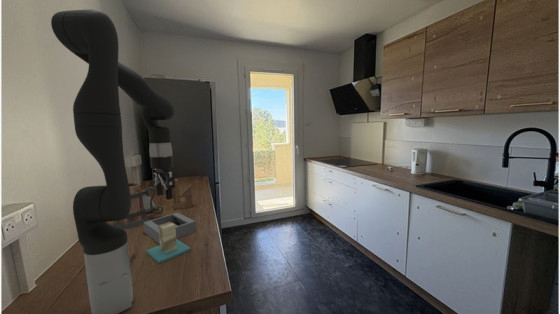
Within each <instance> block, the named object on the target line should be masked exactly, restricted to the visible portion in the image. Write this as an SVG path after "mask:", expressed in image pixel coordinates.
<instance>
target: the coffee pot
mask: <svg viewBox="0 0 560 314" xmlns="http://www.w3.org/2000/svg"><path fill="white" fill-rule="evenodd" d="M148 187H149V181H146V183H145V188H143V189H141V191H142V192H144V191H145V190H146V189H147V188H148ZM148 191H149V192H150V191H151V189H149V190H148ZM151 197H152V196H151V195H150V196H147V195H146V194H145V193H143V194H142V199H143V206H144V209H145V214H148V213H151V212H152V210H151V207H150V200H151ZM152 207H153V209H154V210H155V208H156V203H155V202H154V200H153V199H152Z"/></svg>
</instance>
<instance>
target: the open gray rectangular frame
mask: <svg viewBox="0 0 560 314" xmlns="http://www.w3.org/2000/svg"><path fill="white" fill-rule="evenodd" d="M167 222H171V223H173V224H175V229H176V239H177V240H178V239H179V238H182V237H185V236H187V235H190V234H192V233H195V232H197V226H196V220H193V219H191V218H190V217H187V216H185V215H184V214H181V213H180V212H175V213H171V214H167V215H164V216H160V217H157V218H153V219H150V221H146V222H143V223H144V225H143V230H144V231H143V232H144V234H145V235H147V236H148V237H150V238H151V239H152V240H154V242H155V243H157V244H158V245H160V240H159V228H158V225H161V224H164V223H167ZM178 224H179V225H178Z"/></svg>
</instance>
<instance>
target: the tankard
mask: <svg viewBox="0 0 560 314" xmlns="http://www.w3.org/2000/svg"><path fill="white" fill-rule="evenodd" d="M128 183H129V182H128ZM129 189H130V195H131V208H130V212H129V214H128V216H127V217H126V218H125V219H123V220H119V221H113V224H112V226H114V227H117V228H121V229H123V230H125V231H126V230H131V229H135V228H138V227H142V226H144V223H143V222H146V221H150V220H151V218H150V217H149V216H148V215H146V213H145V209H144V206H143V199H142V194H143V193H145V194H146V195H147V196H150V197H151V200H150V207H151V210H152V211H151V212H152V214H155V215H161V214H162V213H163V211H164V207H163V206H162V205H158V206H157V207H156V210H157V211H156V210H155V208H154V209H153V207H152V200H153V199H154V197H155V195H156V187H153V186H148V187H147V189H146V190H145V191H144V192H142V191H141V190H142V189H141V185H140V183H134V182H132V183H129ZM148 190H152V191H153V193H152V195H150V194H149V193H150V191H148Z"/></svg>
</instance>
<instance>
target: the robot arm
mask: <svg viewBox="0 0 560 314" xmlns="http://www.w3.org/2000/svg"><path fill="white" fill-rule="evenodd" d="M50 23H51V24H50V25H51V29H52V32H53V34H54V36H55V37H56V38H57V40H58V41H59V42H60V43H61V44H62V45H63V46H64V47H65V48H66V49H67V50H68V51H70V52H71V53H72V54H73V55H75V56H76V57H77V58H80V59H81V60H82V61H83V62H85V63H86V64H88V68H87V69H88V70H87V74H86V77H85V79H84V81H83V83H82V84H81V86H80V88H79V90H78V92H77V94H76V97H75V99H74V101H73V105H72V113H73V115H72V116H73V123H74V124H73V125H74V131H75V135H76V137H77V139H78V140H79V142H80V143H81V144H82V146H83V147H84V148H85V149H86V150H87V152H89V154H90V155H91V156H92V157H93V158H94V159H95V161H96V162H97V163H98V164H99V166H100V168H101V170H102V172H103V175H104V180H105V185H91V186H84V187H82V188H80V189H79V190H78V191H77V192H76V194H75V196H74V197H73V198H74V199H73V201H72V213H73V219H74V223H75V228H76V233H77V238H78V242H79V244H80V245H81V246H82V250H83V251H82V252H83V256H84V265H85V266H84V267H85V273H86V282H87V289H88V297H89V298H88V299H89V306H90V313H91V314H121V313H122V312H124V311H126V310H128V309H130V308H131V307H132V306H133V305H132V303H133V301H134V292H133V291H134V288H133V279H132V271H131V263H130V262H131V261H130V253H129V240H128V234H127V231H126V229H125V230H123V229H121V228H117V227H114V226H112V225H113V224H112V225H111V224H109V223H108V222H115V221H119V220H123V219H125V218H126V217H127V216H128V214H129V212H130V208H131V195H130V189H129V179H128V173H127V167H126V163H125V162H126V161H125V155H124V154H125V153H124V142H123V125H122V116H121V115H122V114H121V106H120V96H119V95H120V94H119V88H120V89H121V90H122V91H123V92H124V93H125V94H126V95H127V96H128V97H129V98H131V100H133V102H134V103H135V104H137V105H138V106H141V109H140V111H141V115H142V116H141V117H142V118H143V121H144V124H145V126H146V129H147V131H148V140H149V141H148V142H149V149H148V150H149V161H150V168H151V172H152V173H151V174H152V184H153V185H154V186H155V195H156V196H158V197H159V196H163V195H164V194H165V200H173V191H172V189H173V188H175V179H176V178H175V172H174V171H170V168H172V167H174V159H173V158H174V157H173V147H172V141H171V131H170V129H169V127H167V126H166V127H165V126H162V125H160V123H159V122H158V121H168V120H171V119H172V118H173V117H174V114H175V109H174V107H173V104H172V103H171V102H170V101H169V100H168V99H167V98H166V97H164V96H163V95H161V94H160V93H159V92H157V91H155V90H154V89H153V87H152V86H151V85H150V84H149V83H148V81H147V80H146V79H145V78H144V77H142V75H140V74H139V73H138V72H136V71H135V70H134V69H131V68H130V67H128V66H126V65H125V64H123V63H121V62H120V61H119V37H118V32H117V28H116V27H115V24H114V22H113V20H112V19H111V18H110V16H109V15H108V14H107V13H105V12H104V11H102V10H99V9H72V10H63V11H57V12H56V13H54V14H53V15H52V16H51V20H50ZM163 186H164V187H163ZM164 188H165V189H164ZM164 191H165V193H164Z"/></svg>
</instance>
